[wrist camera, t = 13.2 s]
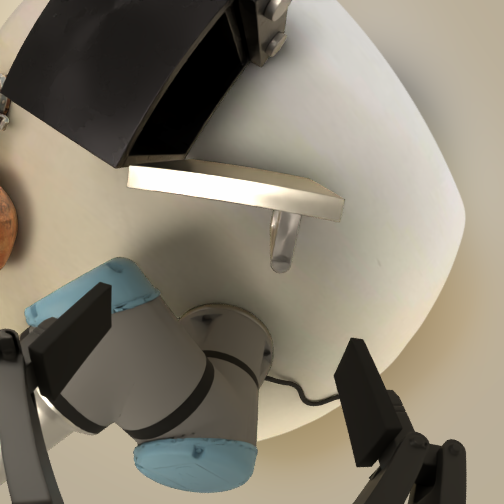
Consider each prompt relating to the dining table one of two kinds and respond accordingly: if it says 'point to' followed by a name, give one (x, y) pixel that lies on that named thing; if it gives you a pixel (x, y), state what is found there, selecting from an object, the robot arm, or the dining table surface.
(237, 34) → the microwave
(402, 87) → the dining table surface
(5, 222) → the jug
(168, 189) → the microwave door
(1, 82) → the mug
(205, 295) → the dining table surface
